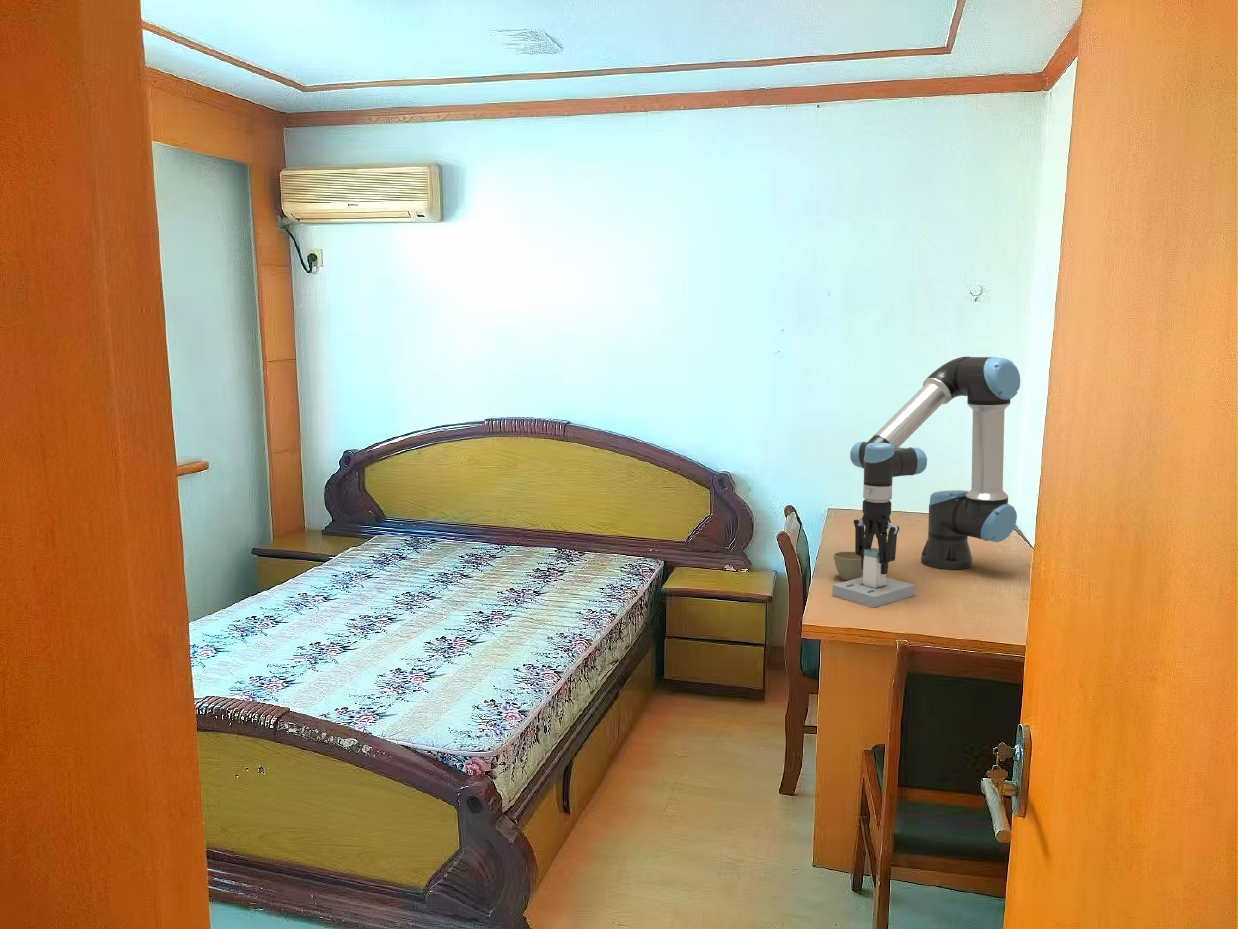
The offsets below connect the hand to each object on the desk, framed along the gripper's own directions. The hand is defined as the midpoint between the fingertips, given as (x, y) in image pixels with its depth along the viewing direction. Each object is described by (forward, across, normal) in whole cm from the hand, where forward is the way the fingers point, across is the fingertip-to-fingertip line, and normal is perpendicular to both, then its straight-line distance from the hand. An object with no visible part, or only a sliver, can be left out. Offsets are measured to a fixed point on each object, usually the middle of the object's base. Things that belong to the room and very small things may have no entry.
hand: (873, 583), depth 246 cm
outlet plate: (+4, 0, 0) cm, 4 cm away
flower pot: (+4, -15, +9) cm, 17 cm away
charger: (+1, 0, 0) cm, 1 cm away
